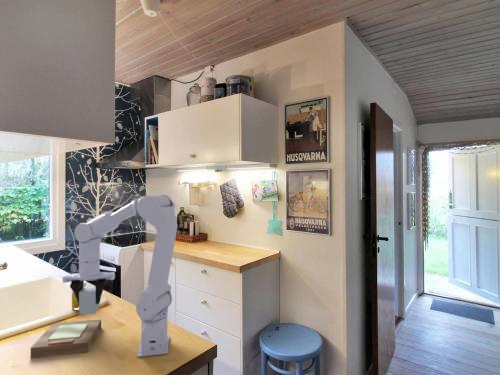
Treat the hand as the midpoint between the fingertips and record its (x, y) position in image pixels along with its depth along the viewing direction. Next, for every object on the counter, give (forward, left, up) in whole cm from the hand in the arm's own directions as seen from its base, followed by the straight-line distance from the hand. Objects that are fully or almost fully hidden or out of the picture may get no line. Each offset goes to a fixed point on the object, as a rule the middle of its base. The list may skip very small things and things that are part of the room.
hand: (89, 303), depth 93 cm
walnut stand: (-4, +4, -9) cm, 11 cm away
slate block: (0, 0, -2) cm, 2 cm away
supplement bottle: (+21, +9, -10) cm, 25 cm away
